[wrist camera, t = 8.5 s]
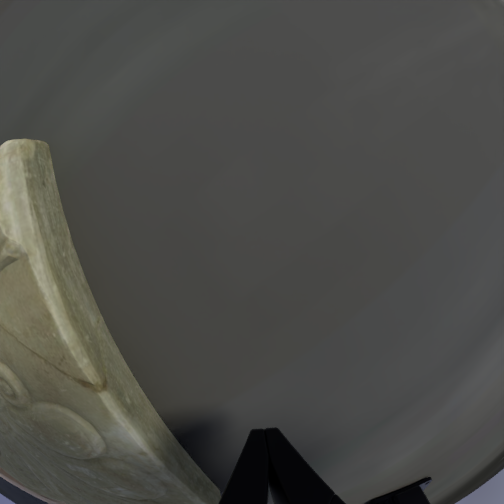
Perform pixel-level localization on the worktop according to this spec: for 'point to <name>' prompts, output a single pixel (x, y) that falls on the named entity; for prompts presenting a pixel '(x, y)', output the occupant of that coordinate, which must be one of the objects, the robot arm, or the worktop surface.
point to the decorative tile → (71, 365)
